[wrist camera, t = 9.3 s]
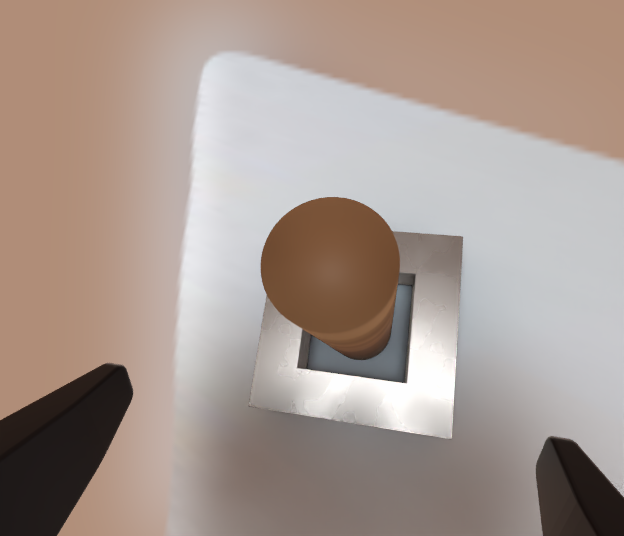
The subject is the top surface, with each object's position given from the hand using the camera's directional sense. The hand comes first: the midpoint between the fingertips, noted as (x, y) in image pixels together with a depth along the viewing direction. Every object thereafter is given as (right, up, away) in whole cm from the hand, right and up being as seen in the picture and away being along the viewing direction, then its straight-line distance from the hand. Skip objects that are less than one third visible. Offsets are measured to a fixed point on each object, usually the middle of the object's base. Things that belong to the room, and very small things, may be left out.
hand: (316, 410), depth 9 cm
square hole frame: (+2, 0, +13) cm, 13 cm away
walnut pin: (+2, 0, +13) cm, 13 cm away
